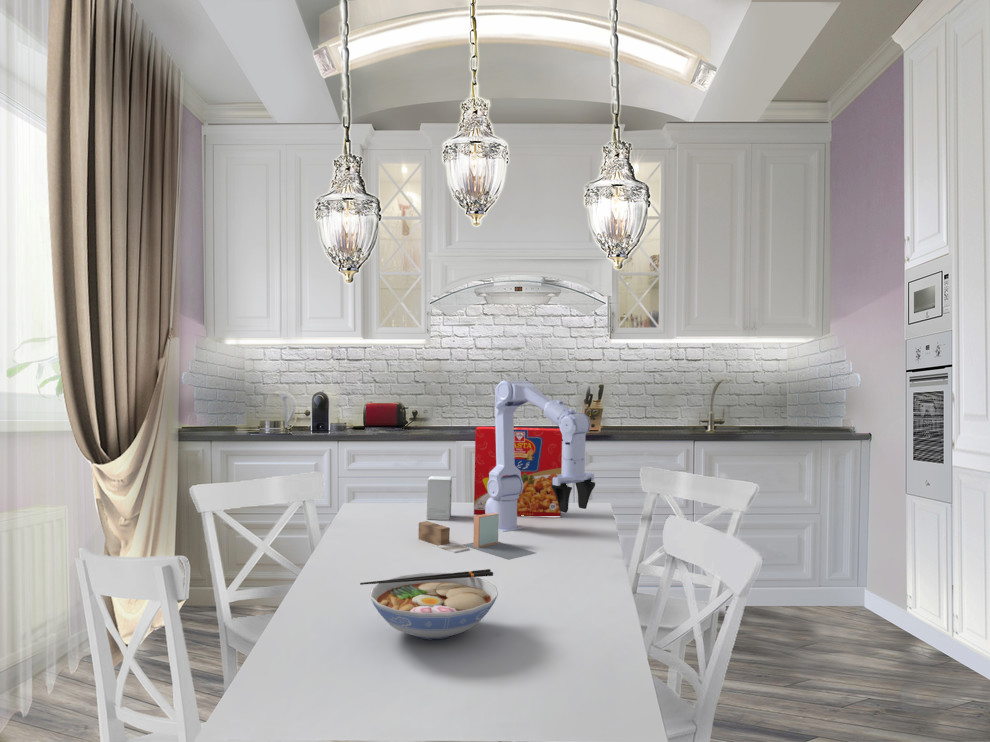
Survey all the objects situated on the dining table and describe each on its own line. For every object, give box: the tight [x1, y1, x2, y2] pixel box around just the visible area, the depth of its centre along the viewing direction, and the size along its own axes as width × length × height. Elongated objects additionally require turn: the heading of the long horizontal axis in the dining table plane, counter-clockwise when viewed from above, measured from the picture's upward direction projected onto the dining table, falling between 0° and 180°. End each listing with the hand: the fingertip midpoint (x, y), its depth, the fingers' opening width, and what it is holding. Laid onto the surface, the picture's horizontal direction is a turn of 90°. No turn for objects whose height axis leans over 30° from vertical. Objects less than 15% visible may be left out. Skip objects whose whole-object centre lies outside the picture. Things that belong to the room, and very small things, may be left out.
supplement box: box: [426, 475, 453, 521], centre depth 217 cm, size 7×7×13 cm
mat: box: [462, 541, 537, 561], centre depth 179 cm, size 18×10×1 cm, turn 42°
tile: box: [472, 513, 499, 548], centre depth 182 cm, size 2×7×8 cm, turn 132°
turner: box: [417, 520, 471, 554], centre depth 182 cm, size 17×5×5 cm, turn 42°
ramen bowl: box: [359, 568, 499, 641], centre depth 122 cm, size 25×23×8 cm
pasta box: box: [473, 426, 563, 517], centre depth 225 cm, size 28×8×28 cm, turn 85°
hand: (573, 510), depth 183 cm, fingers open, 7 cm apart
